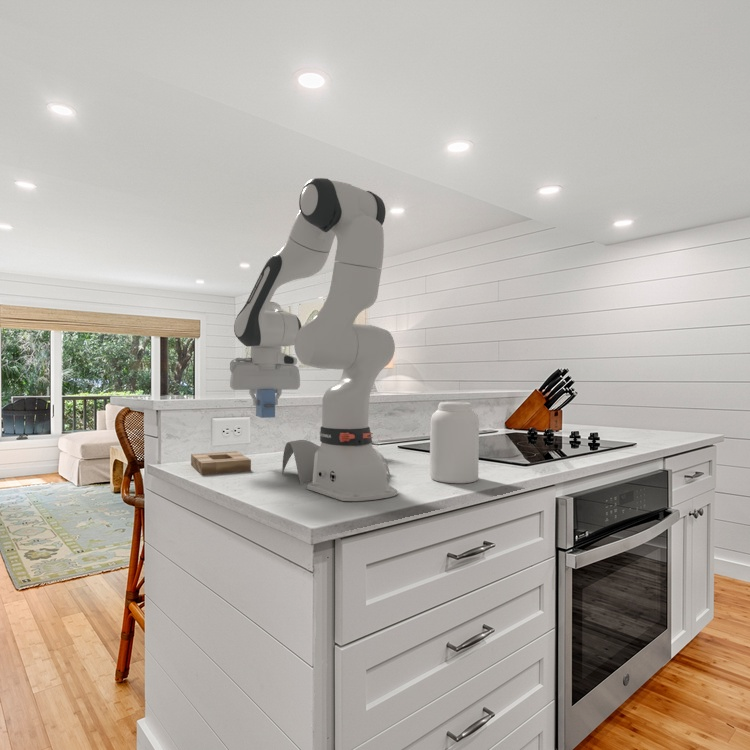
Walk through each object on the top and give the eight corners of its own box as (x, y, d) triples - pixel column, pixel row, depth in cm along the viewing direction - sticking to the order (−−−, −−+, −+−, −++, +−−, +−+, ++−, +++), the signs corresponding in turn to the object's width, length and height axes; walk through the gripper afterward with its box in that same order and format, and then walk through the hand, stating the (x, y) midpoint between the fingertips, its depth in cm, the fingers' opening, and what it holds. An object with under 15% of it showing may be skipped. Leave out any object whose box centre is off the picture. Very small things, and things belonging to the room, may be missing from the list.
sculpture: (359, 465, 152) (360, 432, 152) (392, 477, 136) (392, 440, 136) (278, 472, 140) (278, 437, 140) (302, 487, 124) (303, 446, 124)
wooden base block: (250, 470, 141) (250, 459, 141) (201, 474, 135) (201, 463, 135) (236, 461, 155) (236, 451, 155) (191, 464, 149) (191, 454, 149)
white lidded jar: (440, 485, 126) (442, 403, 126) (422, 475, 138) (423, 400, 138) (487, 483, 129) (488, 403, 129) (465, 473, 141) (466, 400, 141)
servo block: (276, 417, 148) (277, 390, 148) (262, 418, 146) (263, 390, 146) (267, 415, 156) (267, 388, 156) (254, 415, 154) (254, 388, 154)
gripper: (232, 357, 143) (232, 406, 143) (302, 358, 153) (301, 405, 153) (227, 357, 149) (227, 405, 149) (295, 359, 159) (294, 404, 159)
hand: (265, 405), depth 151 cm, fingers closed on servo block, 4 cm apart
